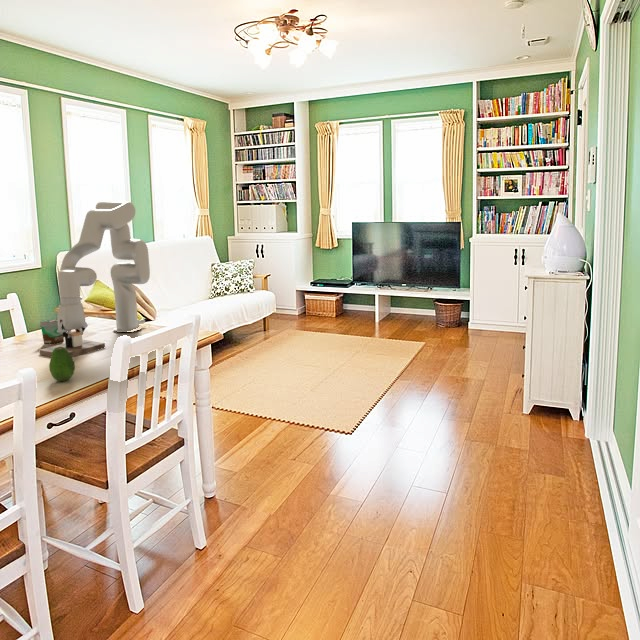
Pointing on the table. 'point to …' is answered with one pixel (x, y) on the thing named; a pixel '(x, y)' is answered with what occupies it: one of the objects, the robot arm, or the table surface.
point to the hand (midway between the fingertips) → (74, 345)
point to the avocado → (61, 364)
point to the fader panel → (75, 348)
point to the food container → (51, 332)
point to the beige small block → (76, 338)
